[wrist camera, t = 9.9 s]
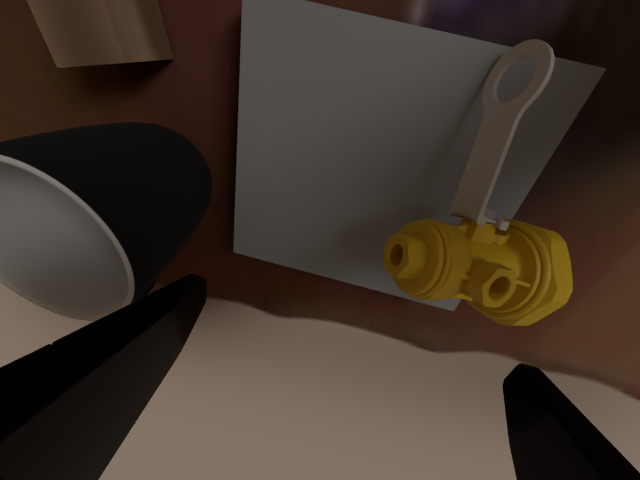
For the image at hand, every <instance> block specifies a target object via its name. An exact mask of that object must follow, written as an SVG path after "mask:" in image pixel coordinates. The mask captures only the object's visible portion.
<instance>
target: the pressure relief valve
mask: <svg viewBox="0 0 640 480" xmlns="http://www.w3.org/2000/svg"><path fill="white" fill-rule="evenodd" d="M528 56H532V57H534V59H535V62H536V68H535V74H534V76H533V78H532V80H531V83H530V84H529V85H528V86H527V88H526V89H525V90H524V92H522V93H521V94H520V95H519V96H518V97H516V98H515V99H513V100H511V101H509V102H502V103H501V102H499V100H498V98H497V86H498V83H499V81H500V79H501V77H502V75H503V73H504V72H505V71H506V70H507V69H508V68H509V66H510V65H512V64H513V63H514V62H516V61H517V60H519V59H521V58H523V57H528ZM554 61H555V56H554V52H553V49H552V48H551V47H550V45H549V44H548V43H546V42H544V41H542V40H538V39H532V40H526V41H524V42H522V43H519V44H517V45H516V46H514V47H513V48H512V49H510V50H509V51H507V52H506V53H505V54H504V55H503V56H502V57H501V58H500V59H499V61H498V62H497V63H496V65H495V66H494V67H493V69H492V70H491V72H490V74H489V76H488V78H487V80H486V83H485V85H484V88H483V95H482V100H483V107H484V116H483V119H482V123H481V126H480V128H479V131H478V134H477V137H476V140H475V142H474V145H473V148H472V151H471V154H470V157H469V159H468V162H467V165H466V168H465V171H464V173H463V176H462V179H461V182H460V185H459V187H458V190H457V193H456V196H455V199H454V202H453V204H452V207H451V210H450V214H451V216H455V217H460V218H463V219H462V221H461V223H460V225H459V226H455V225H451V224H448V223H445V222H442V221H438V220H434V219H429V218H424V219H420V220H418V221H413V222H411V223H409V224H407V225H406V226H405V227H403V228H402V229H401V231H400V232H399V233H395V234H394V235H393V236H392V237H391V238H390V239H389V240H388V242H387V244H386V246H385V248H384V256H383V260H384V267H385V270H386V271H387V272H388V273H389V274H391V275H392V276H393V279H394V281H395V283H396V285H397V286H398V287H399V289H401V290H402V291H403V292H405V293H407V294H409V295H410V296H412V297H414V298H415V299H418V300H428V301H437V300H443V299H447V298H449V299H455V298H460V299H465V300H466V301H467V302H468V304H470V305H471V306H472V307H473V308H475V309H476V310H478V311H479V312H480V313H482V314H483V315H485V316H486V317H488V318H490V319H491V320H493V321H495V322H496V323H498V324H500V325H511V326H528V325H530V324H532V323H534V322H536V321H538V320H540V319H542V318H544V317H545V316H547V315H549V314H551V313H552V312H554V311H555V310H557V309H559V308H560V307H562V306H563V305H564V304H566V303H567V301H568V299H569V297H570V295H571V293H572V291H573V284H572V270H571V263H570V257H569V253H568V249H567V245H566V242H565V241H564V240H563V239H562V237H561V236H560V235H559V234H558V233H557V232H554V231H551V230H547V229H544V228H541V227H537V226H534V225H530V224H527V223H523V222H520V221H516V220H512V219H508V218H504V217H499V216H497V215H498V212H499V211H498V210H495V209H491V208H487V207H486V206H487V203H488V201H489V198H490V196H491V193H492V190H493V188H494V185H495V183H496V180H497V177H498V175H499V172H500V170H501V167H502V164H503V162H504V159H505V157H506V154H507V151H508V149H509V146H510V144H511V141H512V138H513V136H514V133H515V131H516V128H517V125H518V123H519V121H520V118H521V116H522V115H523V113H524V112H525V110H526V109H527V108H528V107H529V106H530V105H531V103H532V102H533V101H534V100H535V99H536V98H537V97H538V96H539V95H540V94H541V92H542V91H543V89H544V88H545V86H546V85H547V83H548V81H549V79H550V77H551V74H552V71H553V69H554Z"/></svg>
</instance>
